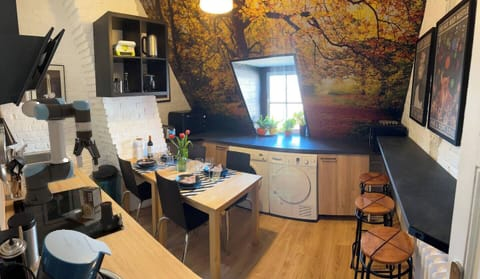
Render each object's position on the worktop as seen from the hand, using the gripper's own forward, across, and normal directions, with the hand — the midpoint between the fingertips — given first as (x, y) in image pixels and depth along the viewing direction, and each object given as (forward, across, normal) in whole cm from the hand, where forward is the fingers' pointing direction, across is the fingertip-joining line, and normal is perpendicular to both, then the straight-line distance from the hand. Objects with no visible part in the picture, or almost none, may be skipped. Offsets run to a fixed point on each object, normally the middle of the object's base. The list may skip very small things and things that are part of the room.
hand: (87, 169), depth 159 cm
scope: (+28, +19, -3) cm, 34 cm away
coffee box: (+27, 0, 0) cm, 27 cm away
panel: (+28, -5, -2) cm, 28 cm away
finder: (+27, -7, -5) cm, 28 cm away
